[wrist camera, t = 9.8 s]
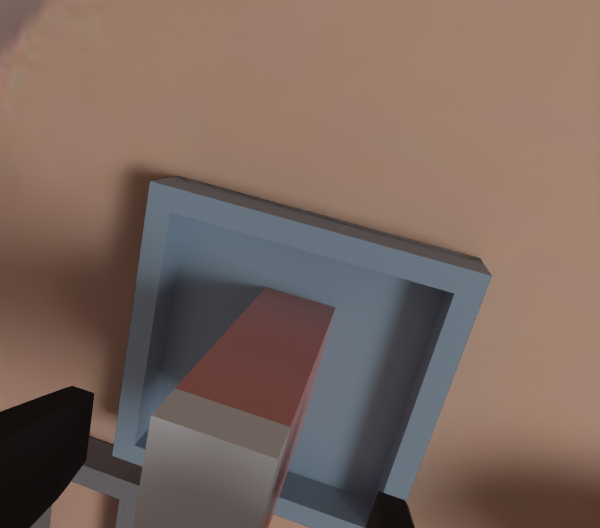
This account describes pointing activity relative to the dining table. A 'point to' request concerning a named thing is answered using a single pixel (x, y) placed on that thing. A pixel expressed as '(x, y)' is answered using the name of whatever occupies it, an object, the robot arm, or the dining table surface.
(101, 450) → the grey rectangular frame
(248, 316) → the red and grey block
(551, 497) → the dining table surface
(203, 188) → the parts tray
